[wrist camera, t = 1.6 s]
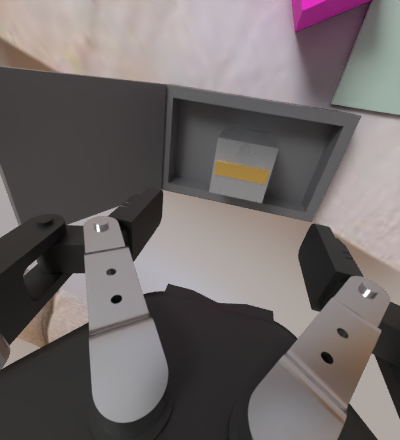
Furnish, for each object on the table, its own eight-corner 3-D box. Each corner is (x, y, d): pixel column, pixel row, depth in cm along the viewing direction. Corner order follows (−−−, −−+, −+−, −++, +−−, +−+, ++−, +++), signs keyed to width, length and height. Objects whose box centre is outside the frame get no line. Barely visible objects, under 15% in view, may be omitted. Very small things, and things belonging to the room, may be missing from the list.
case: (349, 112, 22) (497, 152, 8) (306, 209, 28) (353, 325, 14) (118, 75, 25) (-48, 60, 11) (123, 171, 30) (18, 237, 17)
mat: (487, 2, 17) (492, 0, 16) (418, 117, 21) (421, 118, 21) (374, -9, 18) (377, -11, 17) (330, 103, 22) (331, 104, 22)
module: (273, 133, 24) (279, 149, 18) (260, 177, 27) (261, 204, 20) (227, 125, 24) (217, 137, 18) (219, 169, 27) (208, 192, 21)
